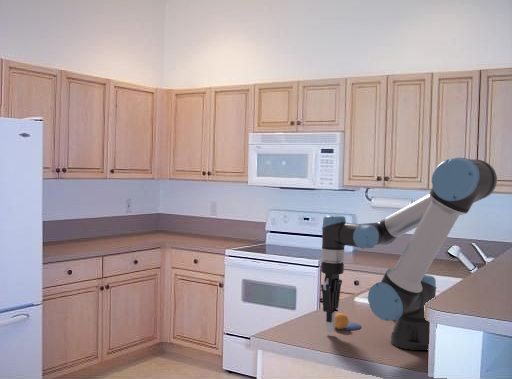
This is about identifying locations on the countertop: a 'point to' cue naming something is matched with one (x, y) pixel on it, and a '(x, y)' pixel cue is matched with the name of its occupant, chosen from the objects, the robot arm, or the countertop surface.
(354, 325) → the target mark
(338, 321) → the ball
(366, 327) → the countertop surface
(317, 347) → the countertop surface
